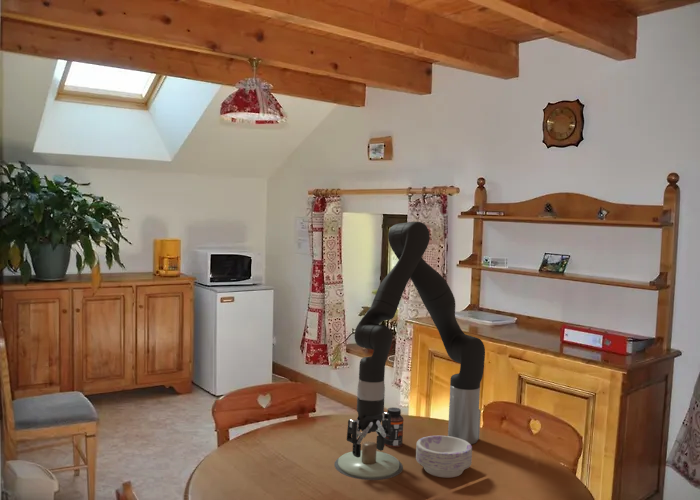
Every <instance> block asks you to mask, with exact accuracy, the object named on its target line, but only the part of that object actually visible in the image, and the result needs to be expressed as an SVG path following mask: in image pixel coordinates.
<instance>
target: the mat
mask: <svg viewBox="0 0 700 500" xmlns="http://www.w3.org/2000/svg"><path fill="white" fill-rule="evenodd" d="M339 458H340V457H338V458H337V459H335V461H334V468H335V469H336V471H338V472H339V474H342V475H344V476H345V477H349V478H353V479H358V480H364V481H380V480H381V481H382V480H387V479H391V478H394V477H396V476H398V475H400V474H401V473H402V472H403V470H404V467H403V466H404V465H403V464H402V463H401V461H399V470H398V471H397V472H396V473H395V474H393V475H391V476H387V477H383V478H361V477H356V476H352V475H349V474H347V473H345V472H343V471H342V470H341V469H340V468H339V467H338V459H339Z"/></svg>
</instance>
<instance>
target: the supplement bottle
mask: <svg viewBox="0 0 700 500" xmlns="http://www.w3.org/2000/svg"><path fill="white" fill-rule="evenodd" d="M386 412H387V413H390V414H391V433H390V434H387V435H386V437H385V442H384V443H385V444H384V447H387V448H400V447H402V446H403V443H404V442H403V441H404V440H403V438H404V417H403V415H402V411H401V409H400V408H399V407H388V408H387V411H386ZM386 428H387V426H386Z"/></svg>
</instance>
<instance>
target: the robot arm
mask: <svg viewBox="0 0 700 500" xmlns="http://www.w3.org/2000/svg"><path fill="white" fill-rule="evenodd" d="M387 237H388V239H387V240H388V243H389V246H390V248H391V251H392V252H393V253H394V254H395V256H396V259H398V261H397V262H396V264H395V265H394V266H393V268H391V270H390V271H389V272H388V274H386V275H385V277H384V278H383V279H382V281H381V282H380V284H379V286H378V288H377V290H376V293H375V296H374V299H373V301H372V303H371V306H370V307H369V308H368V310H367V311H366V312H365V314H364V315H363V317H362V318H361V319H360V321H359V322H358V324H357V326H356V327H355V331H354V341H355V344H356V345H357V346H358V347H360V348H364V349H368V350H373V352H372V354H371V356H363V357H362V358H361V359H360V361H359V367H358V369H359V370H358V383H357V395H356V413H357V418H356V419H351V418H350V419H348V421H347V429H346V430H347V431H346V433H347V434H346V441H347V442H348V443H349V442H350V443H351V444H352V451H351V452H352V453H353V455H354V456H355V457H357V458H358V457H360V456H361V450H362V444H361V442H362V441H363V439H364V438H366V436H367V434H370V433H374V432H375V433H376V435H377V436H376V444H377V449H376V450H377V451H379V452H383V451H384V448H385V445H384V444H385V443H384V442H385V437H386V435H387V434H390V433H391V414H390V413H387V412H388V411H385V397H386V395H385V392H386V390H385V389H386V387H385V385H386V384H385V374H386V373H385V371H386V363H387V359H388V357H389V353H390V350H391V347H392V343H393V333H392V331H391V328H390V327H389V326H386V325H385V324H381V323H382V322H384V321H390V320H392V319H394V317H395V315H396V313H397V310H398V307H399V304H400V303H401V299H402V296H403V294H404V291H405V289H406V287H407V285H408V283H409V281H410V280H411V282H412V283H413V286H414V287H415V289H416V291H417V293H418V295H419V297H420V300H421V301H422V304H423V305H424V307H425V308H426V310H427V312H428V314H429V315H430V318H431V320H432V322H433V323H434V325H435V327H436V330H437V331H438V333H439V336H440V338H441V341H442V343H443V346H444V349H445V352H446V353H447V355H448V357H449V358H450V360H452V362H453V361H454V362H456V363H458V364H460V366H459V372H458V373H455V374H451V376H450V382H449V383H450V384H449V385H450V386H449V403H448V405H449V406H448V407H449V408H448V428H447V429H448V430H447V436H451V437H456V438H460V439H463V440H465V441H467V442H468V443H470V444H471V445H474V444H476V443H477V442H478V440H480V430H481V429H480V428H481V409H480V393H481V382H482V380H483V376H484V369H485V358H486V346H485V343H484V342H483V341H482V339H480V338H479V337H476V336H472V335H470V334H469V335H468V334H466V333H465V332H464V331H463V330H462V328H461V326H460V324H459V323H458V321H457V318H456V299H455V295H454V294H453V292H452V290H451V287H450V285H449V284H448V281H447V280H446V279H445V278H444V277H443V276H442V275H441V273H439V272H438V271H437V270H436V269H434V268H433V267H432V266H431V265H430V264H429V263H428V262H426V261H425V260H424V258H423V256H424V255H425V252H426V250H427V249H428V246H429V243H430V239H431V238H430V237H431V235H430V231H429V228H428V226H427V225H426V224H425V223H424V222H423V221H408V222H400V223H395V224H393V225H392V226H391V227H390V228H389V230H388V234H387ZM386 426H387V428H386Z"/></svg>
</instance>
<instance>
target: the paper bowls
mask: <svg viewBox="0 0 700 500" xmlns="http://www.w3.org/2000/svg"><path fill="white" fill-rule="evenodd" d="M415 444H416V447H415V461H416V463H418V464H419V465H420V466H422V467H423V469H424V471H425V472H426V473H427V474H429V475H431V476H433V477H439V478H456V477H459V476H460V475H462V474H463V473H464V470H466V469H469V468H470V467H471V465H472V463H473V462H472V460H473V459H472V458H473V446H472V444H470V443H468V442H467V441H465V440H463V439H460V438H456V437H451V436H448V435H429V436H424V437H421V438H419V439H418V440H417V441H416V443H415Z"/></svg>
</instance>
